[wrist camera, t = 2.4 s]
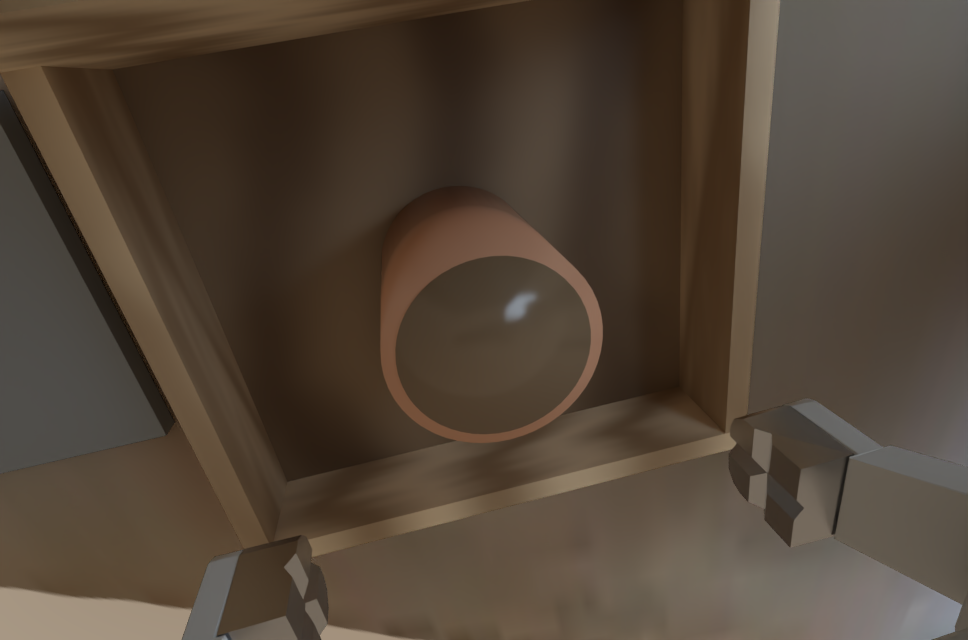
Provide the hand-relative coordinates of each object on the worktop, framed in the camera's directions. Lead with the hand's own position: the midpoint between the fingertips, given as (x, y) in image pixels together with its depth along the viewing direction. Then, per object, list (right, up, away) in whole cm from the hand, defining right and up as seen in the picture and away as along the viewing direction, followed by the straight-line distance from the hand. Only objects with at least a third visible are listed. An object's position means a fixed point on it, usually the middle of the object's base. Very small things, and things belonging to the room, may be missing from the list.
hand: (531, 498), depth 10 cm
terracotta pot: (-2, +6, +12) cm, 14 cm away
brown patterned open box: (-2, +6, +13) cm, 15 cm away
